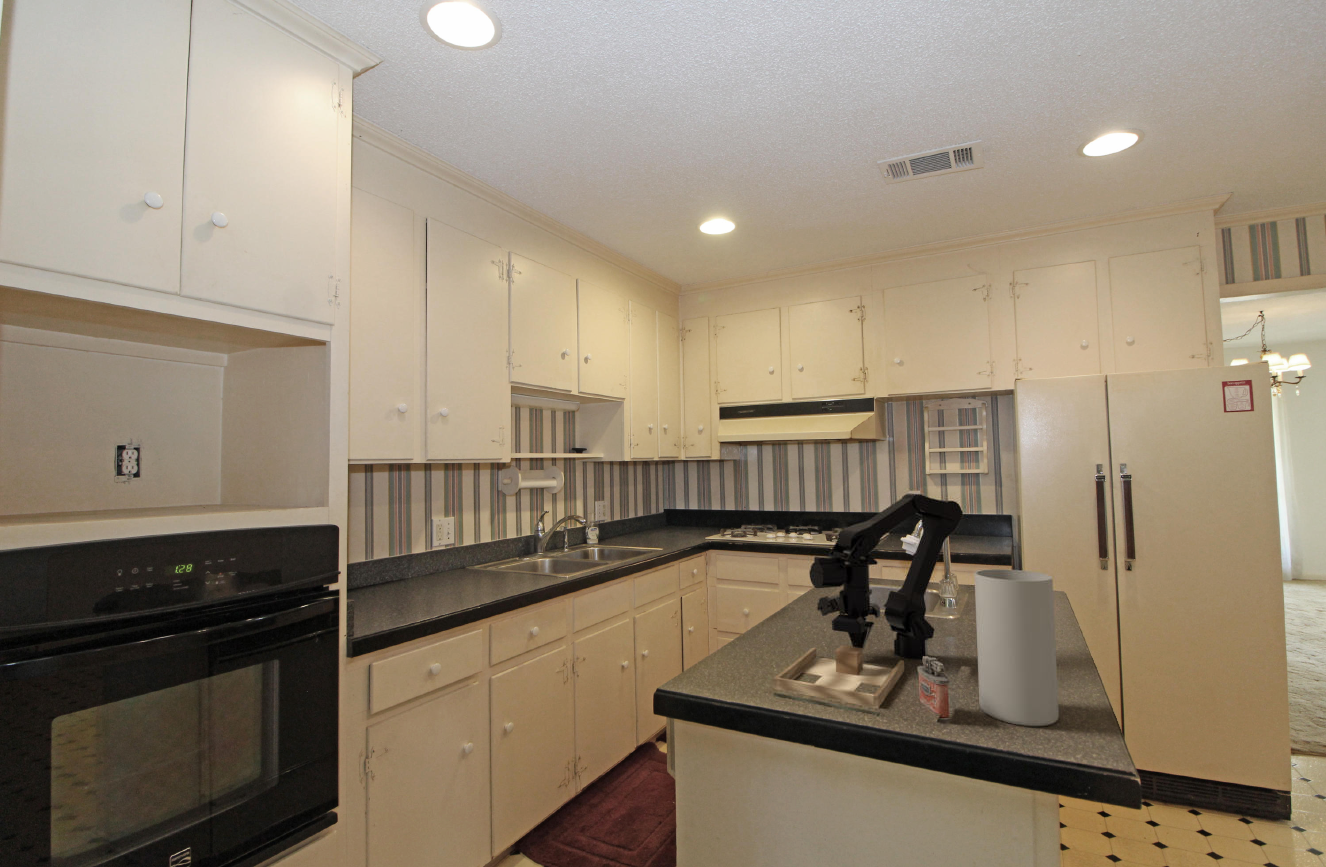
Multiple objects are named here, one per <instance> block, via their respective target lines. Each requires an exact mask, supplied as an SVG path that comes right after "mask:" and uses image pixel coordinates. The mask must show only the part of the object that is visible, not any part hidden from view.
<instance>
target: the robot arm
mask: <svg viewBox="0 0 1326 867" xmlns="http://www.w3.org/2000/svg"><path fill="white" fill-rule="evenodd" d="M915 515H918V516H921V518H920V520H921V526H922V530H923V531H922V534H921V537H920V540H919V542H918V545H917V548H916V549H915V553H914V556H913V558H912V561H911V563H910V567H909V569H908V570H907V571H908V572H907V573H906V574H907V575H906V577H905V579H904V582H903V584H902V586H901V587H900V589H898V590H897V591H893V590H890V592H889V593H888V597H887V600H886V602H885V604H884V605H883V607H884V614H883V615H884V617H885V620H886V622H887V623H888V624H889V627H890V630H891V631H892V632H894V633H895V632H896V636H895V637H896V638H894V640H893V652H894V653H893V654H894V655H895V656H898V657H901V658H903V659H909V660H923V656H928V657H929V653H928V652H929V651H928V648H929V647H928V640H930V639H933V638H934V633H935V628H934V627H933V626H932V625H931V623H929V622H928V621H927V620H926V618H925V617H926V616H925V615H926V612H927V607H926V600H925V595H926V591H927V588H928V586H929V584H930V580H931V578H932V575H933V573H934V570H935V568H936V564H937V562H938V559H939V556H940V554H941V551H942V549H943V546H944V543H945V541H946V539H947V538H948V537H950V535H951V534H953V533H954V532H955V531H956V530H957V528H958V526H959V525H960V523H961V522H962V519H963V515H964V512H963V510H962V507H961V505H960V504H959V503H958V502H957V501H954V500H947V499H936V498H933V497H928V496H925V495H923V494H920V493H906V494H904V495H903V496H902V497H901V498H900V499H898V500H897V501H895V502H894V503H893V504H891V505H889V506H888V507H886V508H884V509H883V510H882V511H880V512H879V513H877V514H876V515H875V516H873V517H871V518H870V519H868V520H865V521H864V522H860V523H855V524H853V525H851V526H848V527H845V528H843V529H841V530H840V531H839V532H838V534H837V539H836V541H835V543H834V545H833V547H832V548H831V550H830V552H829V553H828V556H815V557H814V562H812V564H811V565H810V569H809V579H810V583H811V585H812V586H813V587H814V588H816V589H827V588H837V587H842V589H841V590H839V594H838V595H833V596H828V595H825V596H823V597H819V599H818V602H817V603H816V604H817V607H816V610H817V611H820V614H821V615H822V617H824V616H827V615H829V614H833V613H837V612H839V613H838V615H837V616H835V617H834V618H833V619H832V620H831V630H832V631H834V632H842V633H847V634H848V637H849V639H850V642H851V647H857V648H862V653H864V649H865V647H866V644H867V643H868V642H867V641H868V639H869V636H870V634H871V632H872V629H873V627H874V625H875V622H874V621H868V620H869V619H868V618H867V617H868V616H869V615H870V616H874V618H876V619H878V618H880V616H881V606H879V605H878V604H877V603H876V602H871V595H872V594H873V589H872V588H871V586H870V566H873V565H874V566H875V565H876V566H877V565H878V564H879V563H878V561H877V560H876V559H874V557H873V556H872V555H871V552H873V550H874V549H876V547H878V545H879V544H880V541H881V540H882V538H883V537H884V536H885V535H887V534H888V533H890V532H891V531H892V530H894V529H896V528H898V527H899V526H900V525H901V524H903V523H904V522H906V521H907V520H909V519H910V518H911V517H913V516H915Z"/></svg>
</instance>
